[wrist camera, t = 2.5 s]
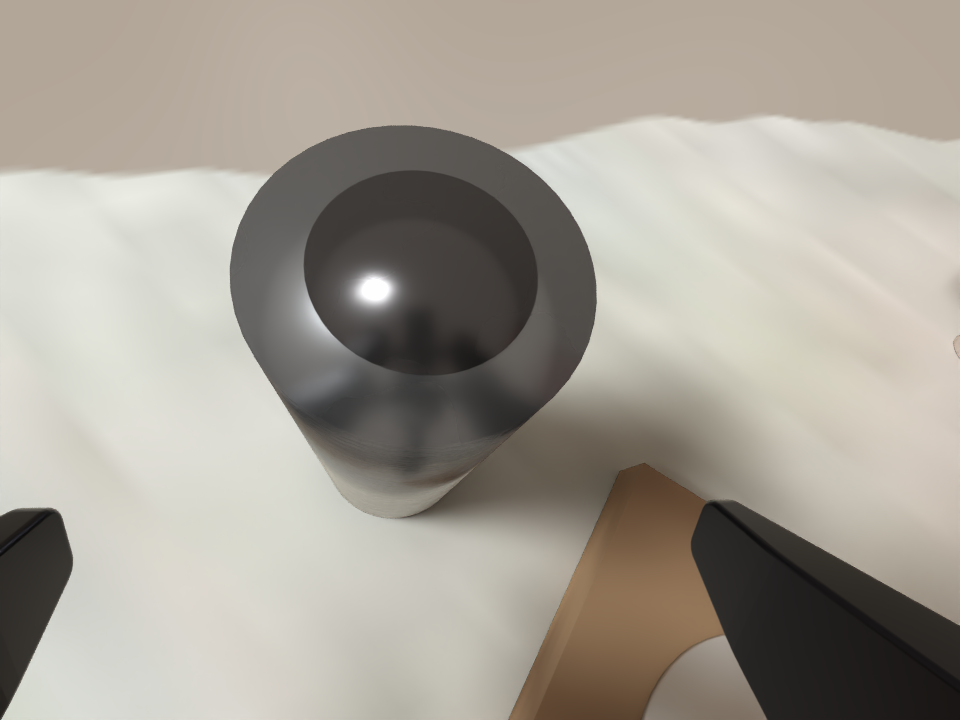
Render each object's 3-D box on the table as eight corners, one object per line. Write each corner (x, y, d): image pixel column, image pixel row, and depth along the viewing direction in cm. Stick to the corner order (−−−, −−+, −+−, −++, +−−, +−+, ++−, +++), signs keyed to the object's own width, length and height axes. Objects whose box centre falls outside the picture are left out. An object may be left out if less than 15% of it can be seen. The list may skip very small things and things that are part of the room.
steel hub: (415, 545, 18) (492, 526, 6) (297, 470, 18) (135, 301, 6) (485, 428, 20) (647, 235, 8) (377, 361, 20) (377, 72, 8)
